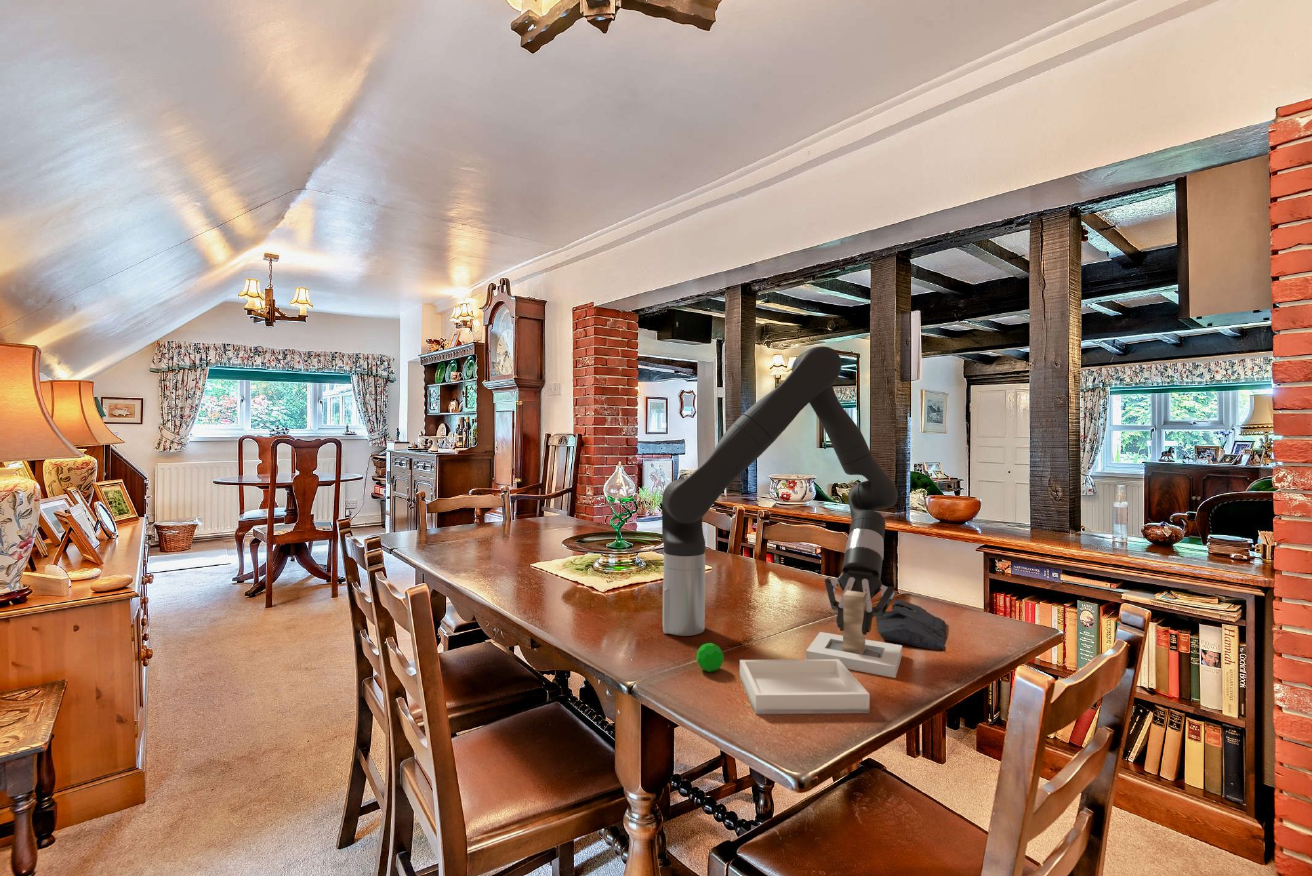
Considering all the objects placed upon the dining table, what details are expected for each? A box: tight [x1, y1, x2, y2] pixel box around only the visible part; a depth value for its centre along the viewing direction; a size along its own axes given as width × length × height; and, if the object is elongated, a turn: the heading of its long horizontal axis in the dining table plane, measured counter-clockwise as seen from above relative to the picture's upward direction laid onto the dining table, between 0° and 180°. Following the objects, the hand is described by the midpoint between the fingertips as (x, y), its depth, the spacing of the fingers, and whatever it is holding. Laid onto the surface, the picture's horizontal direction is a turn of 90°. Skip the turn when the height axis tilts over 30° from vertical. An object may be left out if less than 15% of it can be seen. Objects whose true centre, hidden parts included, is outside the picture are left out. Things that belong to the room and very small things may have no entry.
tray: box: [739, 658, 871, 715], centre depth 99 cm, size 18×14×3 cm
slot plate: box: [805, 631, 903, 679], centre depth 114 cm, size 16×12×2 cm
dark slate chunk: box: [875, 598, 947, 652], centre depth 130 cm, size 15×22×5 cm
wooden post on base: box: [829, 590, 881, 658], centre depth 114 cm, size 9×4×12 cm, turn 62°
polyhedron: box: [695, 642, 725, 673], centre depth 108 cm, size 5×5×5 cm
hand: (852, 630), depth 112 cm, fingers closed on wooden post on base, 3 cm apart
